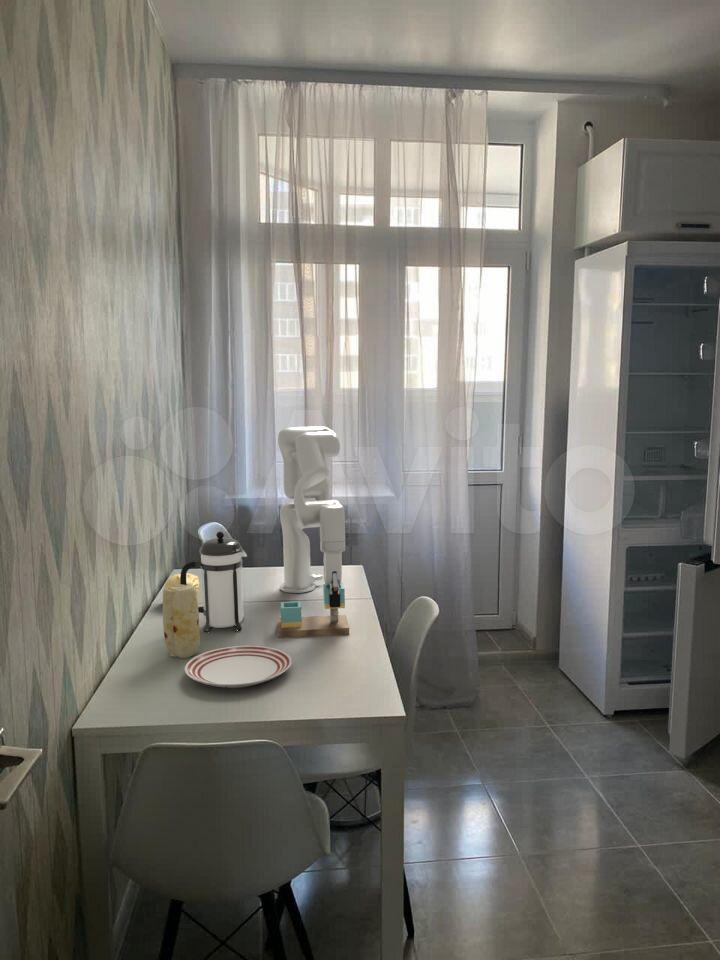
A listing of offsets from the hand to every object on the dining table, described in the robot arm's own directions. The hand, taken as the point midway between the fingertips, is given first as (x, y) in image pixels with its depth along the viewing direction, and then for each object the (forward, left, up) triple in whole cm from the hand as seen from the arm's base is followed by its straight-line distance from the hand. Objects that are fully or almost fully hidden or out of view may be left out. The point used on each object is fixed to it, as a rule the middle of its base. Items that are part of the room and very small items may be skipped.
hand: (334, 603), depth 226 cm
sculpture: (+28, -52, -8) cm, 60 cm away
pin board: (+6, -3, -8) cm, 10 cm away
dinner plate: (+39, +14, -8) cm, 42 cm away
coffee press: (+28, -22, -8) cm, 36 cm away
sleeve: (0, 0, -1) cm, 1 cm away
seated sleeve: (+11, -7, -6) cm, 14 cm away
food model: (+46, -7, -8) cm, 47 cm away
